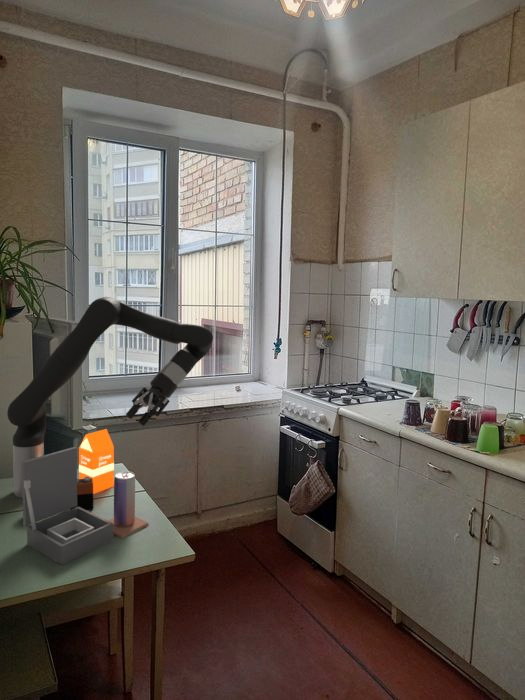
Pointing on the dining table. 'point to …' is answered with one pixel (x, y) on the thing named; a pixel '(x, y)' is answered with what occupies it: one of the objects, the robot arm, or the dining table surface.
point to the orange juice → (97, 460)
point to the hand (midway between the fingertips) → (134, 420)
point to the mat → (126, 531)
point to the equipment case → (59, 509)
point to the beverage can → (124, 499)
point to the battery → (85, 493)
